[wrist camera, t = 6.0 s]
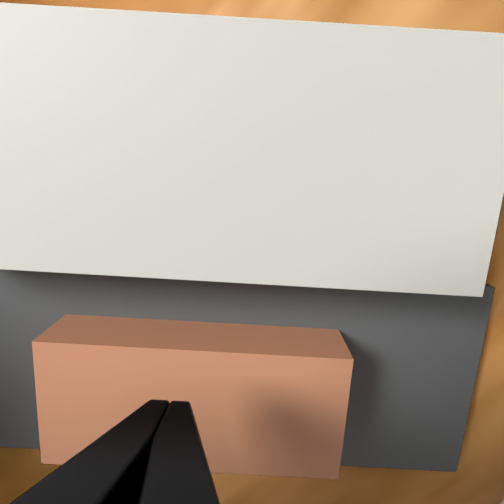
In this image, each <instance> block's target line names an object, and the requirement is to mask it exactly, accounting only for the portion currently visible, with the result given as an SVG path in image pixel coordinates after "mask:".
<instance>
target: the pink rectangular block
mask: <svg viewBox="0 0 504 504" xmlns="http://www.w3.org/2000/svg"><path fill="white" fill-rule="evenodd" d="M32 351H33V363H34V376H35V389H36V402H37V414H38V427H39V440H40V453H41V463H42V464H61V465H62V464H64V463H65V462H67V461H68V460H69V459H71V458H72V457H73V456H75V455H76V454H77V453H79V452H80V451H81V450H83V449H84V448H85V447H87V446H88V445H89V444H91V443H92V442H94V441H95V440H96V439H98V438H99V437H100V436H102V435H103V434H104V433H106V432H107V431H108V430H110V429H111V428H112V427H114V426H115V425H116V424H118V423H119V422H121V421H122V420H123V419H125V418H126V417H127V416H129V415H130V414H131V413H133V412H134V411H135V410H137V409H138V408H139V407H141V406H142V405H143V404H145V403H146V402H148V401H149V400H151V399H157V400H168V401H169V402H171V401H174V400H175V401H189V402H190V404H191V407H192V410H193V413H194V417H195V420H196V424H197V427H198V431H199V434H200V437H201V441H202V444H203V448H204V451H205V455H206V458H207V462H208V465H209V468H210V472H211V473H227V474H246V475H264V476H283V477H301V478H320V479H339V471H340V463H341V455H342V448H343V440H344V432H345V424H346V416H347V408H348V400H349V393H350V385H351V377H352V369H353V361H354V359H353V357H352V355H351V353H350V351H349V349H348V347H347V345H346V343H345V341H344V339H343V337H342V335H341V333H340V331H339V329H322V328H304V327H286V326H269V325H251V324H233V323H215V322H197V321H179V320H161V319H144V318H126V317H108V316H90V315H72V314H66V315H65V316H63V317H62V318H61V319H60V320H58V321H57V322H56V323H54V324H53V325H52V326H51V327H49V328H48V329H47V330H46V331H44V332H43V333H42V334H41V335H39V336H38V337H37V338H36V339H34V340H33V341H32Z"/></svg>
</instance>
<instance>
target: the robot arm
mask: <svg viewBox="0 0 504 504" xmlns="http://www.w3.org/2000/svg"><path fill="white" fill-rule="evenodd" d="M10 504H220V503H219V499H218V496H217V493H216V489H215V486H214V482H213V479H212V475H211V472H210V468H209V465H208V462H207V458H206V455H205V451H204V448H203V444H202V441H201V437H200V434H199V431H198V427H197V424H196V420H195V417H194V413H193V410H192V407H191V404H190V402H189V401H175V400H174V401H171V402H169V401H168V400H157V399H151V400H149V401H148V402H146V403H145V404H143V405H142V406H141V407H139V408H138V409H137V410H135V411H134V412H133V413H131V414H130V415H129V416H127V417H126V418H125V419H123V420H122V421H121V422H119V423H118V424H116V425H115V426H114V427H112V428H111V429H110V430H108V431H107V432H106V433H104V434H103V435H102V436H100V437H99V438H98V439H96V440H95V441H94V442H92V443H91V444H89V445H88V446H87V447H85V448H84V449H83V450H81V451H80V452H79V453H77V454H76V455H75V456H73V457H72V458H71V459H69V460H68V461H67V462H65V463H64V464H62V465H61V466H60V467H58V468H57V469H56V470H54V471H53V472H52V473H50V474H49V475H48V476H46V477H45V478H44V479H42V480H41V481H40V482H38V483H37V484H35V485H34V486H33V487H31V488H30V489H29V490H27V491H26V492H25V493H23V494H22V495H21V496H19V497H18V498H17V499H15V500H14V501H13V502H11V503H10Z"/></svg>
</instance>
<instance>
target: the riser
mask: <svg viewBox="0 0 504 504" xmlns="http://www.w3.org/2000/svg"><path fill="white" fill-rule="evenodd" d="M503 194H504V33H492V32H475V31H459V30H443V29H426V28H410V27H394V26H377V25H361V24H344V23H328V22H312V21H295V20H279V19H263V18H246V17H230V16H214V15H197V14H181V13H164V12H148V11H132V10H115V9H99V8H83V7H66V6H50V5H34V4H17V3H1V2H0V269H4V270H21V271H39V272H56V273H74V274H91V275H108V276H126V277H143V278H160V279H178V280H195V281H213V282H230V283H247V284H265V285H282V286H300V287H317V288H334V289H352V290H369V291H387V292H404V293H421V294H439V295H456V296H474V297H483V293H484V288H485V283H486V278H487V273H488V268H489V263H490V258H491V253H492V248H493V243H494V238H495V234H496V229H497V224H498V219H499V214H500V209H501V204H502V199H503Z"/></svg>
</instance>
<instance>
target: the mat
mask: <svg viewBox="0 0 504 504" xmlns="http://www.w3.org/2000/svg"><path fill="white" fill-rule="evenodd" d="M494 289H495V288H494V287H492V286H490V285H488V284H485V288H484V293H483V297H474V296H456V295H439V294H421V293H404V292H387V291H369V290H352V289H334V288H317V287H300V286H282V285H265V284H247V283H230V282H213V281H195V280H178V279H160V278H143V277H126V276H108V275H91V274H74V273H56V272H39V271H21V270H4V269H0V447H13V448H32V449H40V440H39V427H38V414H37V402H36V389H35V376H34V363H33V351H32V341H33V340H34V339H36V338H37V337H38V336H39V335H41V334H42V333H43V332H44V331H46V330H47V329H48V328H49V327H51V326H52V325H53V324H54V323H56V322H57V321H58V320H60V319H61V318H62V317H63V316H65V315H66V314H72V315H90V316H108V317H126V318H144V319H161V320H179V321H197V322H215V323H233V324H251V325H269V326H286V327H304V328H322V329H339V331H340V333H341V335H342V337H343V339H344V341H345V343H346V345H347V347H348V349H349V351H350V353H351V355H352V357H353V359H354V361H353V369H352V377H351V385H350V393H349V400H348V408H347V416H346V424H345V432H344V440H343V448H342V455H341V463H340V466H358V467H376V468H394V469H413V470H431V471H449V472H456V471H457V466H458V461H459V456H460V452H461V447H462V442H463V437H464V432H465V428H466V423H467V418H468V413H469V409H470V404H471V399H472V394H473V390H474V385H475V380H476V375H477V370H478V366H479V361H480V356H481V351H482V347H483V342H484V337H485V332H486V327H487V323H488V318H489V313H490V308H491V304H492V299H493V294H494Z"/></svg>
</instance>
